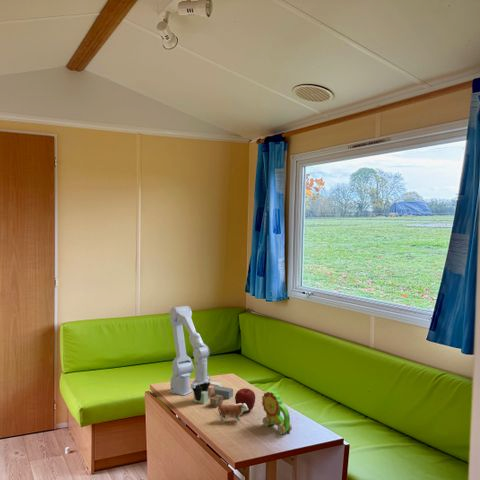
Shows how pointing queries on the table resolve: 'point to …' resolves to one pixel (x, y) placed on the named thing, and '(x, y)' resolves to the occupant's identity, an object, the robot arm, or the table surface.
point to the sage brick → (202, 397)
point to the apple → (245, 398)
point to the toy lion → (275, 412)
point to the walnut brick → (216, 401)
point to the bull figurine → (232, 410)
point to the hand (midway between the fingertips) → (200, 398)
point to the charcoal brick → (224, 392)
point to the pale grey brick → (215, 384)
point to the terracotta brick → (210, 390)
